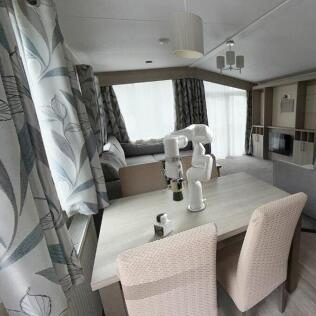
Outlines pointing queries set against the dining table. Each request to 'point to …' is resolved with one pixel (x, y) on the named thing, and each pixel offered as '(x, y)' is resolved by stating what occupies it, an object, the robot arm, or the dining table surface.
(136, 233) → the dining table surface
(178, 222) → the dining table surface
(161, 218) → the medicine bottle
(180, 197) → the character mug
